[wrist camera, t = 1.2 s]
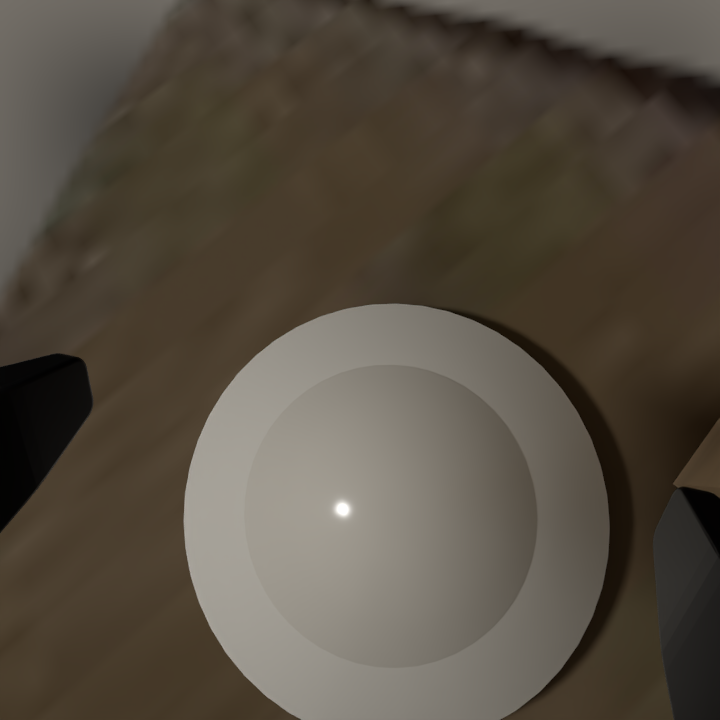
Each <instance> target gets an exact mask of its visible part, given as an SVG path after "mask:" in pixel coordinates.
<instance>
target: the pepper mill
mask: <svg viewBox="0 0 720 720" xmlns="http://www.w3.org/2000/svg"><path fill="white" fill-rule="evenodd" d="M673 485H675V486H676V487H678V488H679V487H682V486H684V487H689V488H694V489H699V490H704V491H708V492H711V493H714V494H715V495H716V496H718V497H719V498H720V418H719V419H718V421H717V422H716V423H715V425H714V426H713V428H712V429H711V430H710V432H709V433H708V435H707V436H706V438H705V439H704V440H703V442H702V443H701V445H700V446H699V447H698V449H697V450H696V452H695V453H694V454H693V456H692V457H691V459H690V460H689V462H688V463H687V464H686V466H685V467H684V469H683V470H682V471H681V473H680V474H679V476H678V477H677V478H676V480H675V481H674V483H673Z"/></svg>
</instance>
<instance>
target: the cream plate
mask: <svg viewBox="0 0 720 720" xmlns="http://www.w3.org/2000/svg"><path fill="white" fill-rule="evenodd" d="M184 532H185V548H186V553H187V559H188V564H189V569H190V575H191V578H192V581H193V585H194V588H195V591H196V594H197V597H198V600H199V603H200V605H201V608H202V610H203V612H204V614H205V616H206V619H207V621H208V623H209V625H210V627H211V629H212V631H213V632H214V634H215V636H216V637H217V639H218V641H219V642H220V644H221V645H222V647H223V649H224V650H225V652H226V653H227V655H228V656H229V657H230V658H231V660H232V661H233V662H234V663H235V664H236V666H237V667H238V668H239V669H240V671H241V672H242V673H243V674H244V676H245V677H247V678H248V679H249V680H250V681H251V682H252V683H253V684H254V685H255V686H256V687H257V688H258V689H259V690H260V691H261V692H262V693H263V694H264V695H265V696H267V697H268V698H270V699H271V700H272V701H274V702H275V703H276V704H278V705H279V706H281V707H282V708H283V709H285V710H286V711H287V712H289V713H290V714H292V715H294V716H296V717H298V718H300V719H302V720H501V719H502V718H504V717H506V716H507V715H509V714H511V713H513V712H514V711H516V710H517V709H519V708H520V707H521V706H522V705H524V704H525V703H526V702H528V701H529V700H530V699H531V698H533V697H534V696H535V695H536V694H538V693H539V692H540V691H541V690H542V689H543V688H544V687H545V686H546V685H547V684H548V683H549V682H550V680H551V679H552V678H553V677H554V676H555V675H556V674H557V673H558V672H559V671H560V670H561V669H562V667H563V666H564V664H565V663H566V661H567V660H568V659H569V657H570V656H571V654H572V653H573V651H574V650H575V649H576V647H577V646H578V644H579V642H580V640H581V638H582V636H583V634H584V632H585V630H586V629H587V627H588V625H589V623H590V621H591V619H592V617H593V614H594V611H595V608H596V605H597V602H598V599H599V596H600V593H601V590H602V587H603V582H604V576H605V571H606V566H607V561H608V551H609V532H610V523H609V510H608V498H607V492H606V487H605V483H604V478H603V474H602V469H601V465H600V462H599V460H598V457H597V454H596V451H595V448H594V445H593V443H592V440H591V437H590V436H589V434H588V432H587V430H586V428H585V426H584V424H583V422H582V420H581V418H580V416H579V414H578V412H577V411H576V409H575V408H574V406H573V405H572V403H571V402H570V400H569V399H568V397H567V396H566V394H565V393H564V391H563V390H562V388H561V387H560V386H559V385H558V384H557V383H556V382H555V381H554V379H553V378H552V377H551V376H550V375H549V374H548V373H547V371H546V370H545V369H544V368H543V367H542V366H541V365H540V364H539V363H537V362H536V361H535V360H534V359H533V358H532V357H531V356H529V355H528V354H527V353H526V352H525V351H524V350H523V349H521V348H520V347H519V346H517V345H516V344H514V343H513V342H511V341H510V340H508V339H507V338H505V337H504V336H502V335H501V334H499V333H498V332H496V331H494V330H492V329H490V328H488V327H486V326H484V325H482V324H480V323H478V322H476V321H474V320H471V319H468V318H465V317H462V316H460V315H457V314H454V313H451V312H448V311H444V310H439V309H434V308H430V307H425V306H417V305H406V304H378V305H366V306H360V307H355V308H349V309H344V310H341V311H337V312H334V313H331V314H327V315H324V316H321V317H318V318H316V319H314V320H312V321H309V322H307V323H305V324H303V325H301V326H298V327H296V328H295V329H293V330H291V331H290V332H288V333H286V334H285V335H283V336H282V337H280V338H278V339H277V340H275V341H274V342H273V343H271V344H270V345H269V346H267V347H266V348H265V349H264V350H262V351H261V352H260V353H259V354H257V355H256V356H255V357H254V358H253V359H252V360H251V361H250V362H249V363H248V364H247V365H246V366H245V367H244V368H243V369H242V370H241V371H240V372H239V373H238V374H237V376H236V377H235V378H234V379H233V381H232V382H231V383H230V385H229V386H228V387H227V388H226V390H225V391H224V392H223V394H222V395H221V397H220V398H219V400H218V402H217V403H216V405H215V407H214V408H213V410H212V412H211V414H210V415H209V417H208V419H207V421H206V424H205V426H204V428H203V430H202V433H201V435H200V437H199V439H198V442H197V445H196V449H195V452H194V455H193V458H192V462H191V465H190V469H189V475H188V481H187V486H186V492H185V507H184Z"/></svg>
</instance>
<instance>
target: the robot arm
mask: <svg viewBox="0 0 720 720" xmlns="http://www.w3.org/2000/svg"><path fill="white" fill-rule="evenodd" d="M92 408H93V395H92V390H91V385H90V381H89V376H88V371H87V366H86V364H85V362H84V361H83V360H82V359H81V358H79V357H75V356H70V355H65V354H60V353H56V354H51V355H47V356H43V357H39V358H35V359H31V360H27V361H23V362H19V363H15V364H11V365H7V366H3V367H0V533H1V532H2V530H3V529H4V528H5V527H6V526H7V525H8V523H9V522H10V521H11V520H12V519H13V518H14V516H15V515H16V514H17V513H18V512H19V511H20V509H21V508H22V507H23V506H24V505H25V503H26V502H27V501H28V500H29V499H30V497H31V496H32V495H33V494H34V493H35V491H36V490H37V489H38V488H39V486H40V485H41V483H42V482H43V481H44V479H45V478H46V477H47V475H48V474H49V472H50V471H51V470H52V468H53V467H54V465H55V464H56V462H57V461H58V460H59V458H60V457H61V455H62V454H63V452H64V451H65V450H66V448H67V447H68V445H69V444H70V442H71V441H72V440H73V438H74V437H75V435H76V434H77V432H78V431H79V430H80V428H81V427H82V425H83V424H84V422H85V421H86V420H87V418H88V417H89V415H90V413H91V411H92ZM653 553H654V566H655V579H656V593H657V606H658V620H659V633H660V643H661V653H662V659H663V665H664V671H665V677H666V682H667V687H668V692H669V697H670V702H671V707H672V712H673V718H674V720H720V498H719V497H718V496H716V495H715V494H714V493H711V492H708V491H704V490H699V489H694V488H689V487H684V486H682V487H679V488H677V489H676V490H675V491H674V493H673V494H672V496H671V498H670V500H669V502H668V504H667V506H666V509H665V511H664V513H663V515H662V517H661V519H660V521H659V523H658V525H657V527H656V530H655V533H654V538H653Z"/></svg>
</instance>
